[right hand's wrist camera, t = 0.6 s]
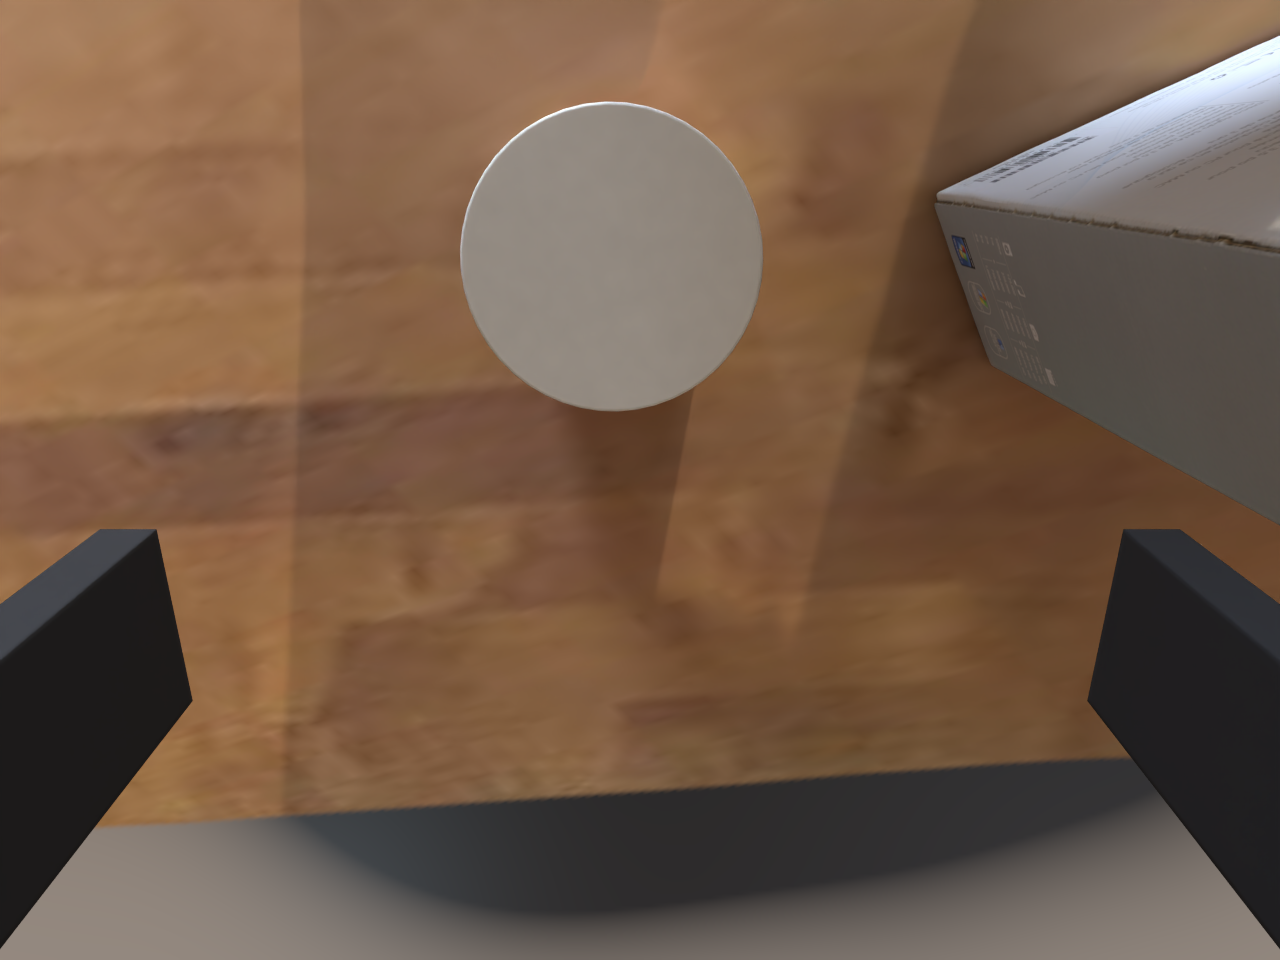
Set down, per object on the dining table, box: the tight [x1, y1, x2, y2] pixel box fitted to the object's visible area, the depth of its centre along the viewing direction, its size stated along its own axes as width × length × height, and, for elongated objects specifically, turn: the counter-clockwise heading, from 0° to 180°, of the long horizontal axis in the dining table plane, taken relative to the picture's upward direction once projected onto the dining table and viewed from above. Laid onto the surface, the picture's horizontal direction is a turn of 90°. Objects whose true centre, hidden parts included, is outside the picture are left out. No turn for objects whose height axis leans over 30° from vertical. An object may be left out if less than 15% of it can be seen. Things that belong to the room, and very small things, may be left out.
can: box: [460, 102, 763, 411], centre depth 30 cm, size 8×8×12 cm
